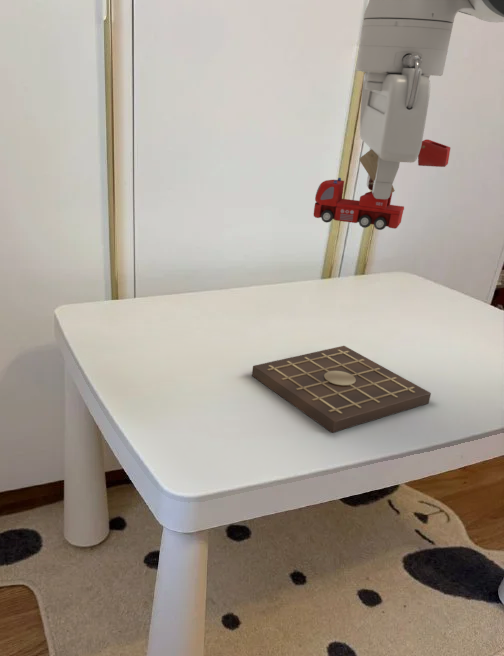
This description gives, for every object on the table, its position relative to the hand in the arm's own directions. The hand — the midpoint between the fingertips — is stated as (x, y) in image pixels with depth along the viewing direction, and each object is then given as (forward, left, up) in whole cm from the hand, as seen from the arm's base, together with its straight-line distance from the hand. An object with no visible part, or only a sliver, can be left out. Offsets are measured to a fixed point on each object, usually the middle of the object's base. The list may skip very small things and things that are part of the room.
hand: (377, 193), depth 72 cm
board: (-1, +2, -24) cm, 24 cm away
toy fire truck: (0, 0, -4) cm, 4 cm away
